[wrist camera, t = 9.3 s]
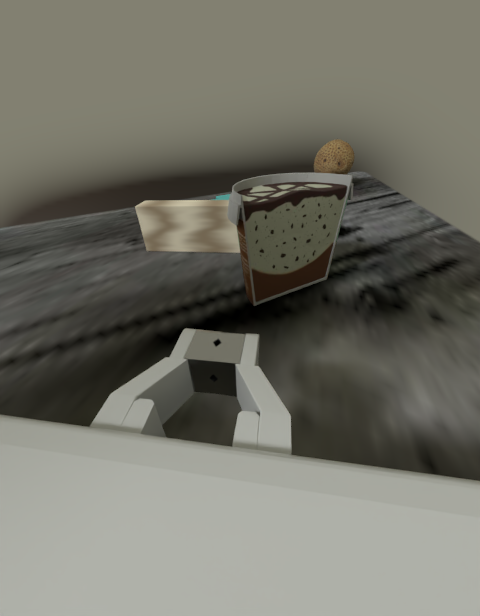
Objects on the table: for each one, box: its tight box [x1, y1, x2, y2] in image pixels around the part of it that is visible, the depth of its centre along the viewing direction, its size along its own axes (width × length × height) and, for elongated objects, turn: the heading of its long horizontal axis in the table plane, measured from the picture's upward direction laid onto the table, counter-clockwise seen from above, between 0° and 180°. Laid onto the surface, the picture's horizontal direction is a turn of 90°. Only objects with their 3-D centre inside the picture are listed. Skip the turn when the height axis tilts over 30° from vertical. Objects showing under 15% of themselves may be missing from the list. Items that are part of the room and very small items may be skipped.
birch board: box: [135, 200, 240, 253], centre depth 34 cm, size 20×3×6 cm, turn 82°
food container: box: [227, 173, 353, 306], centre depth 26 cm, size 12×6×10 cm, turn 120°
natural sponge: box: [314, 140, 354, 175], centre depth 62 cm, size 9×9×10 cm
